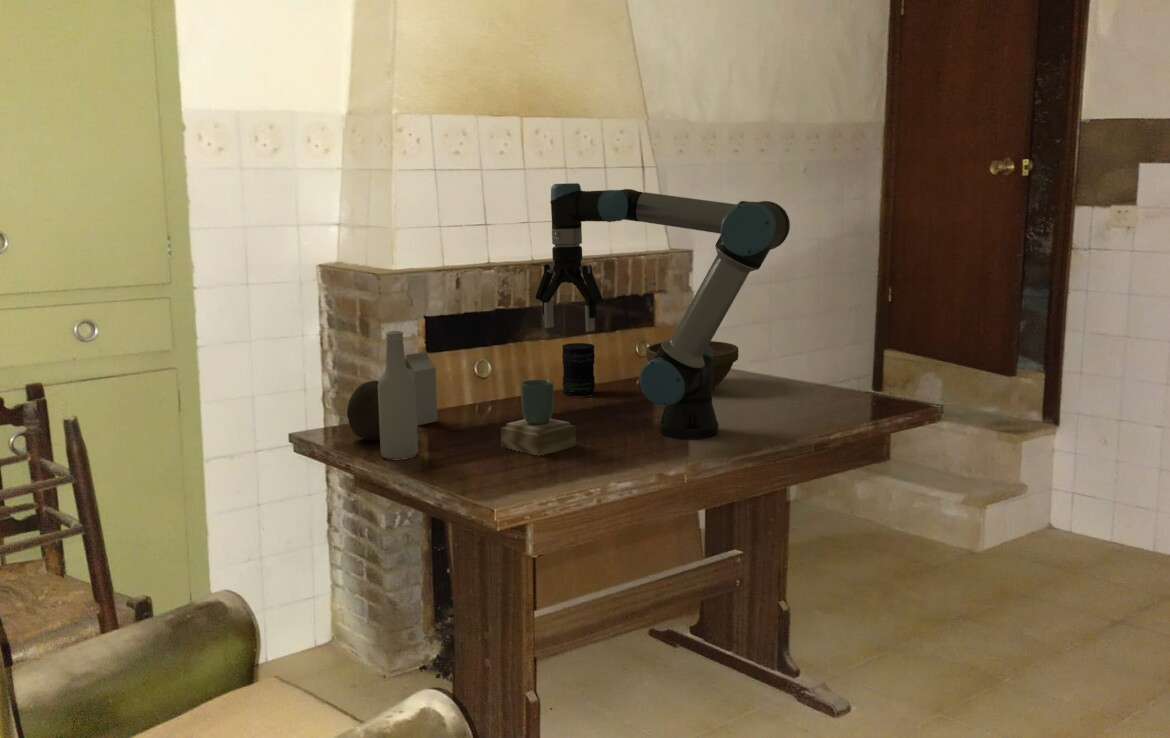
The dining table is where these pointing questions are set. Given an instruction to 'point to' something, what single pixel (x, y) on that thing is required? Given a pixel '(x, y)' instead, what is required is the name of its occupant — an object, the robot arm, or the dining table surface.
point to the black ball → (365, 411)
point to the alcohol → (397, 403)
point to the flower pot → (721, 354)
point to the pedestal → (538, 436)
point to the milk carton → (423, 386)
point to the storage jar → (578, 369)
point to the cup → (537, 401)
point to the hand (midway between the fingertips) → (569, 329)
